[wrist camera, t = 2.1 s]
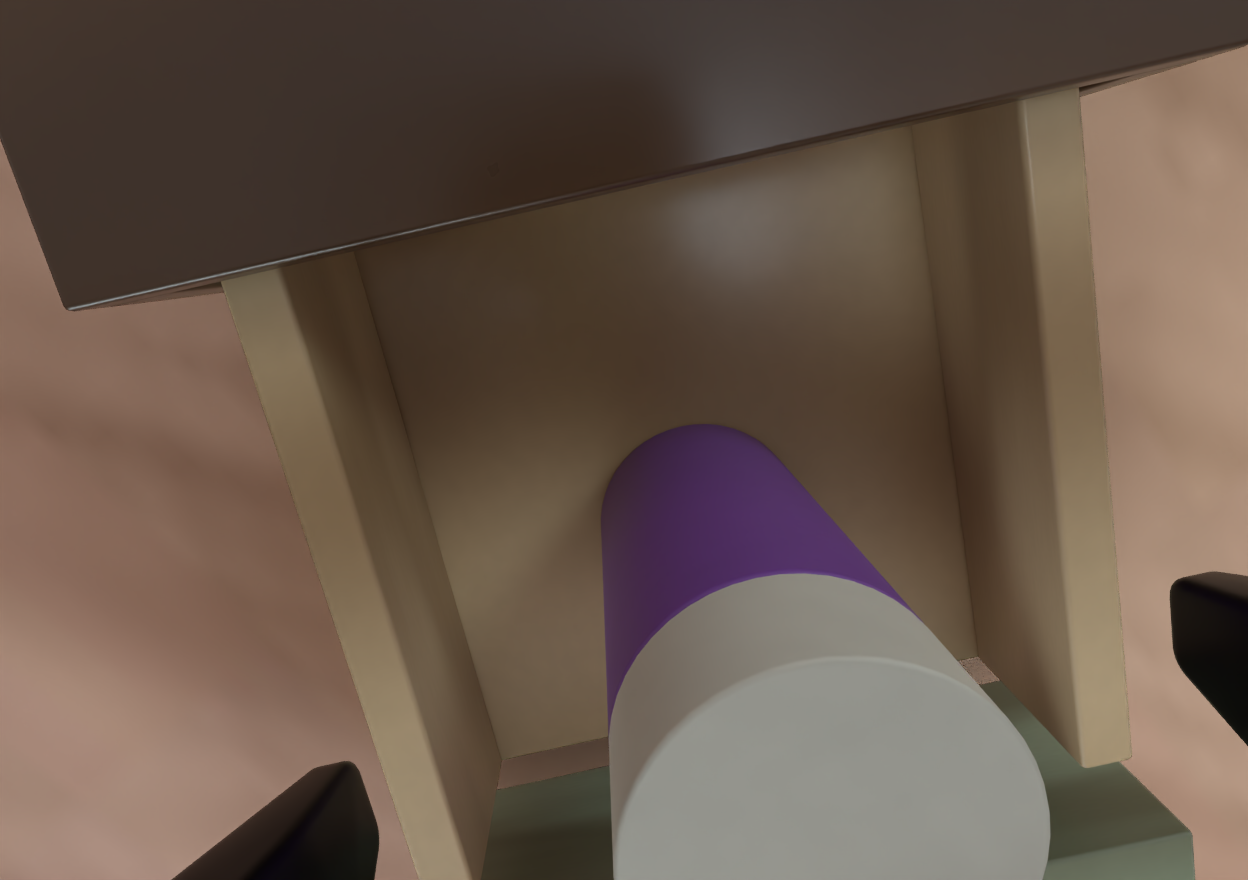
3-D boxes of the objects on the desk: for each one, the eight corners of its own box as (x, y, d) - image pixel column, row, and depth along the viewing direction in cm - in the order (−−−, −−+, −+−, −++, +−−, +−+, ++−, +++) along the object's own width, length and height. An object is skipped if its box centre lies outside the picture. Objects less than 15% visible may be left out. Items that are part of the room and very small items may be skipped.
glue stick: (690, 646, 15) (804, 1107, 7) (559, 515, 15) (519, 857, 6) (837, 523, 15) (1138, 862, 7) (708, 381, 14) (871, 565, 6)
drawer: (1054, 889, 18) (1211, 1107, 14) (518, 1003, 19) (494, 1258, 14) (954, -11, 14) (1135, -140, 9) (253, 149, 14) (87, 100, 9)
